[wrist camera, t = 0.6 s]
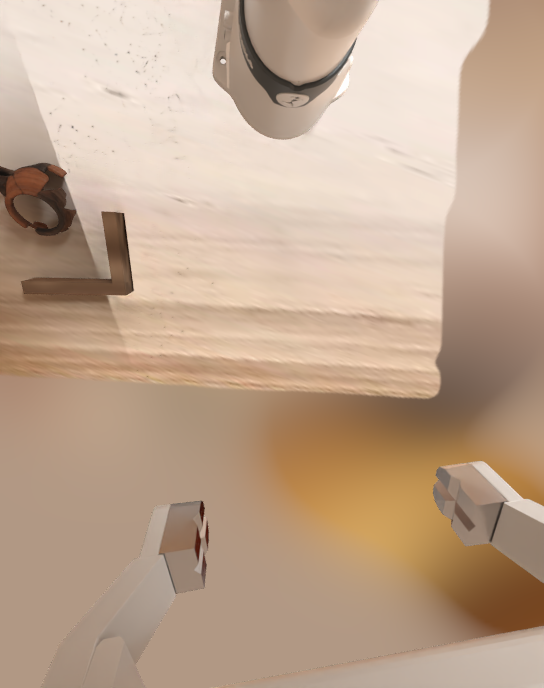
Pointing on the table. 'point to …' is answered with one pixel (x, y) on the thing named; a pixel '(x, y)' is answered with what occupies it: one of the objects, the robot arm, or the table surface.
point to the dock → (114, 286)
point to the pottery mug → (36, 195)
